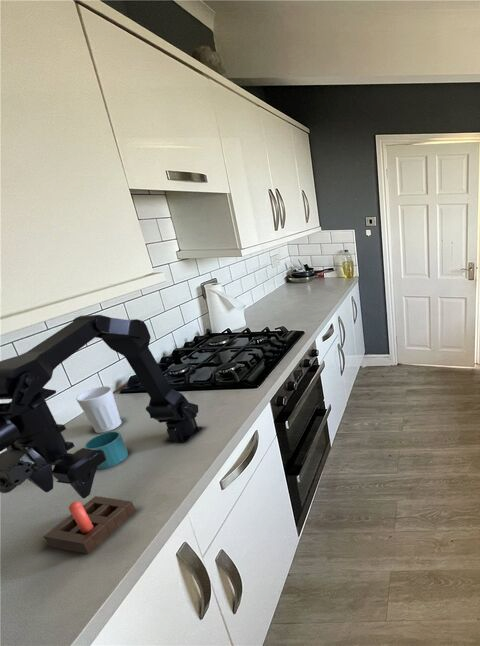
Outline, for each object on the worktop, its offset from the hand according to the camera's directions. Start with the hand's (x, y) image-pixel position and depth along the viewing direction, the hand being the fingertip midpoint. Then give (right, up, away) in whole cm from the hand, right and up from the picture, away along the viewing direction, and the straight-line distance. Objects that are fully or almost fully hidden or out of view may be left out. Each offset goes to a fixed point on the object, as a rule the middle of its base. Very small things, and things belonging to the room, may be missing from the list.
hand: (67, 493), depth 69 cm
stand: (-1, -11, +6) cm, 12 cm away
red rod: (+1, -11, +4) cm, 12 cm away
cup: (-29, +1, +40) cm, 49 cm away
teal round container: (-15, -3, +26) cm, 30 cm away
